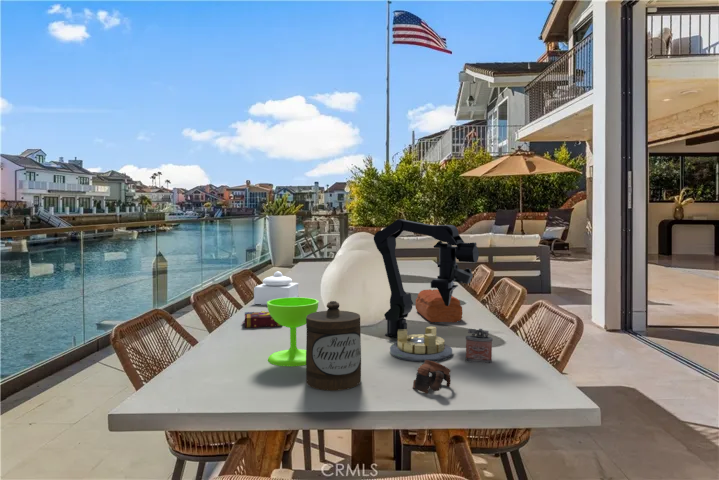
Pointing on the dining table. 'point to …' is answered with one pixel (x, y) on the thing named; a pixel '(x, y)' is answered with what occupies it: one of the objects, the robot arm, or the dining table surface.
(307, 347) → the wooden container
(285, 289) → the white lidded box
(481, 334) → the lighter
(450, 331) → the dining table surface
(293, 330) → the wineglass
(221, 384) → the dining table surface
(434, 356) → the grey round tray
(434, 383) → the brown leather rounded piece
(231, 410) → the dining table surface
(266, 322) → the decorative book
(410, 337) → the tan segmented ring
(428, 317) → the bread
